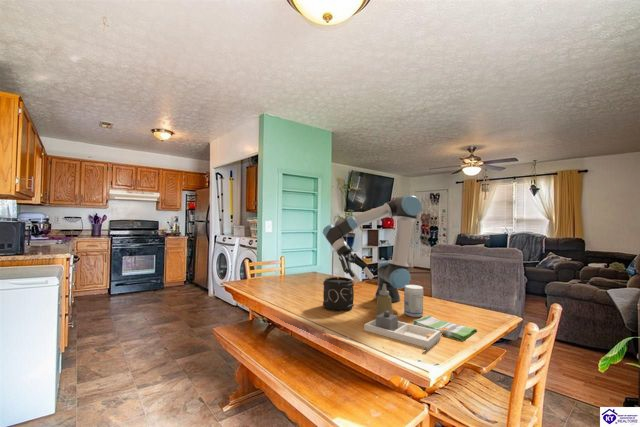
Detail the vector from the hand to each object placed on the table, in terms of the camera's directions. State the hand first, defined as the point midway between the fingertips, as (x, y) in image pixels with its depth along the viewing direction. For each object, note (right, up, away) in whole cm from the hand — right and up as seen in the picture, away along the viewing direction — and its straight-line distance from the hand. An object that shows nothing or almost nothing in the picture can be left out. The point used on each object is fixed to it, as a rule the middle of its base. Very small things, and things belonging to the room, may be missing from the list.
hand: (365, 279), depth 154 cm
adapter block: (+6, -17, -23) cm, 29 cm away
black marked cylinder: (-13, -19, +14) cm, 27 cm away
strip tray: (+11, -18, -27) cm, 34 cm away
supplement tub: (+26, -19, +3) cm, 32 cm away
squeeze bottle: (+8, -19, -7) cm, 22 cm away
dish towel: (+33, -19, -18) cm, 42 cm away
